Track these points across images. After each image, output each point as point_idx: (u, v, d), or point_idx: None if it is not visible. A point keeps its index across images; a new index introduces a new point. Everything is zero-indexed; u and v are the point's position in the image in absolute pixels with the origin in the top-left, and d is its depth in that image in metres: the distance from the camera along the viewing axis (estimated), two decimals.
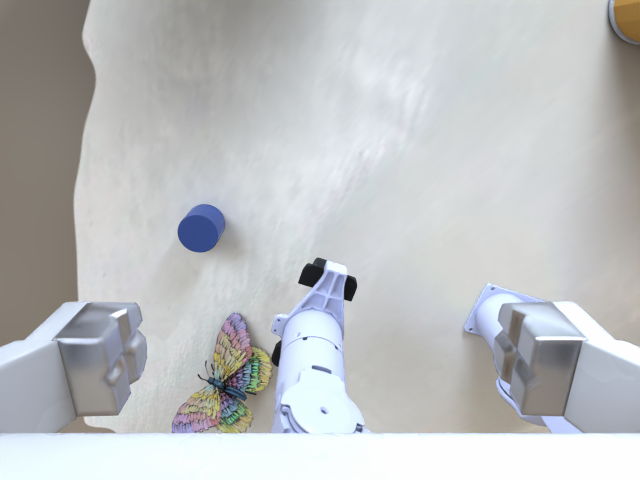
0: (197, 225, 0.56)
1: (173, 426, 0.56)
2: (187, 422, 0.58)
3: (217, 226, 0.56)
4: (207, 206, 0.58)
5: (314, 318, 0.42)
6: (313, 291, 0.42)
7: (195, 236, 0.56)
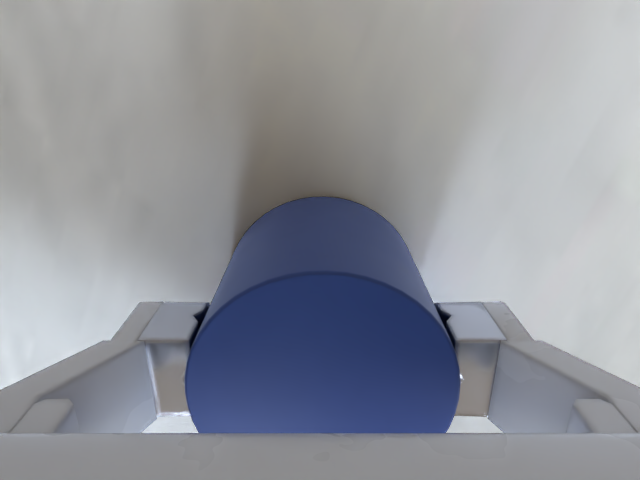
0: None
1: None
2: None
3: None
4: None
5: None
6: None
7: (335, 377, 0.08)
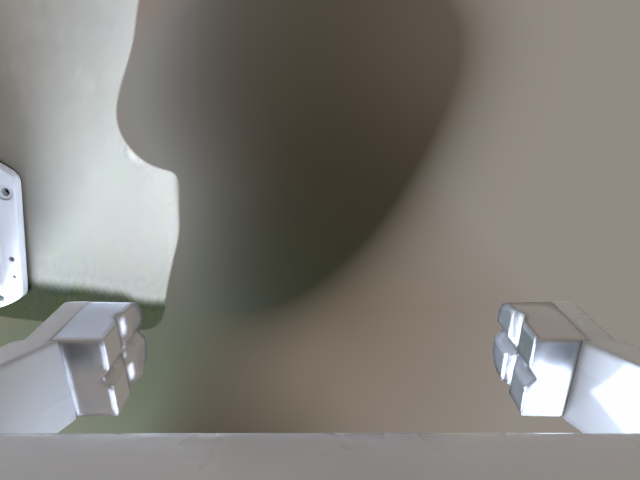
0: None
1: None
2: None
3: None
4: None
5: None
6: None
7: None
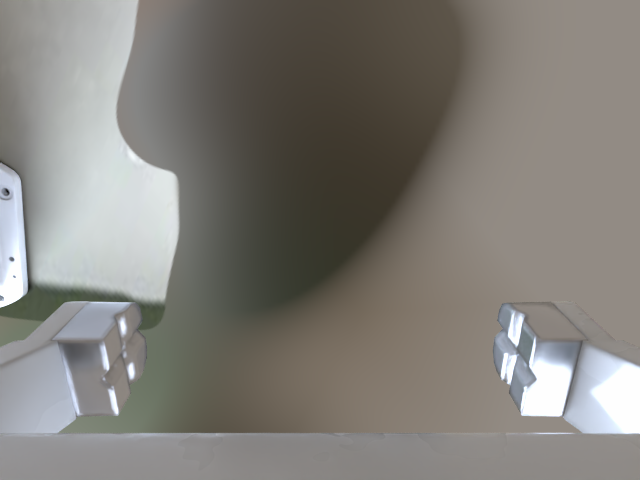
0: None
1: None
2: None
3: None
4: None
5: None
6: None
7: None
